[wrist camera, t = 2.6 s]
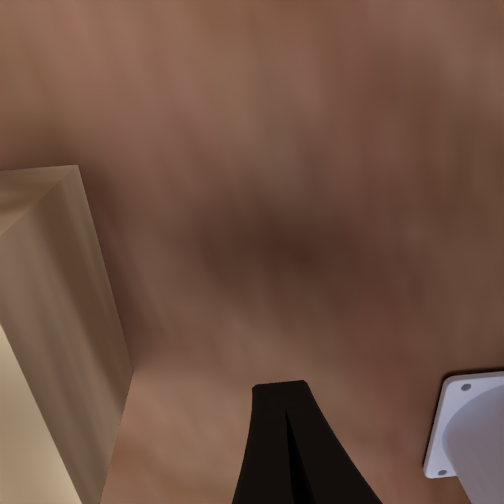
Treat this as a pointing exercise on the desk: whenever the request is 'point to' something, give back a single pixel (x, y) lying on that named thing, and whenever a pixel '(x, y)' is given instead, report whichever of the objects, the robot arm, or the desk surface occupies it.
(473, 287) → the desk surface
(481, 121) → the desk surface
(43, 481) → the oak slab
